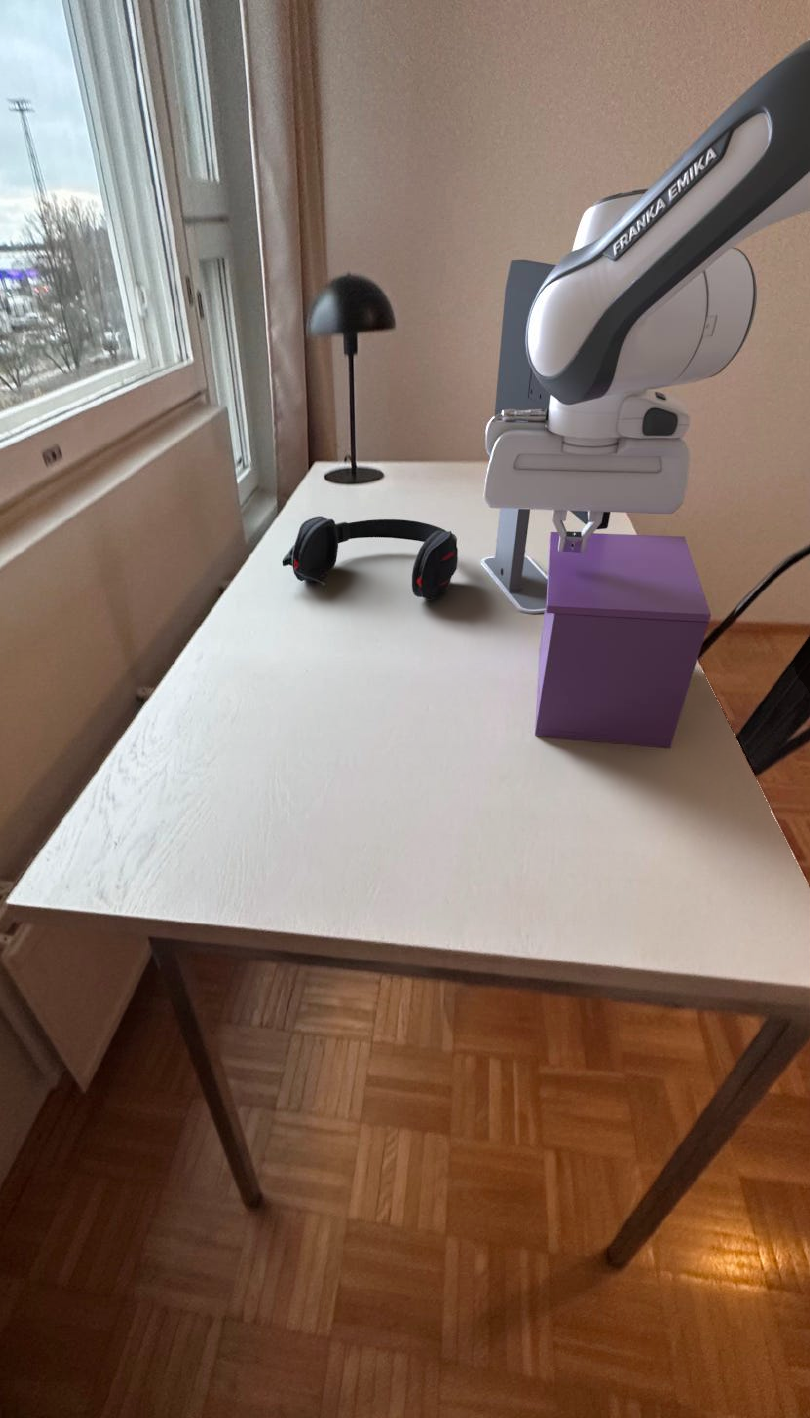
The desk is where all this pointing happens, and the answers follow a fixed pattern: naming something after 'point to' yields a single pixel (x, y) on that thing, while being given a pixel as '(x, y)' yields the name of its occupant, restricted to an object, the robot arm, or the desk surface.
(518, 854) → the desk surface
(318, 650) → the desk surface
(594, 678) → the file box
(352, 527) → the headset
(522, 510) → the computer monitor
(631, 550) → the lid
